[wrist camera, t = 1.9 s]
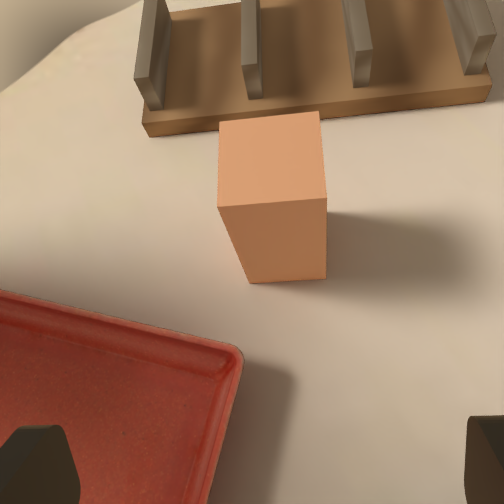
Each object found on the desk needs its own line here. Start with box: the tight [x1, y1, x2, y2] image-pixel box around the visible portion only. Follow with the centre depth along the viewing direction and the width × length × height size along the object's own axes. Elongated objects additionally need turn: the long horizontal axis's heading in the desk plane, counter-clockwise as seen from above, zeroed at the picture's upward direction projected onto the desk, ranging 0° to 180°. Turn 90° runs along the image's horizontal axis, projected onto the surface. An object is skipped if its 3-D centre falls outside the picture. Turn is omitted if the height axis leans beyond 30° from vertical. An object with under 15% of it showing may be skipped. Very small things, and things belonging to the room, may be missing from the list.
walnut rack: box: [134, 0, 496, 137], centre depth 31 cm, size 23×11×4 cm, turn 91°
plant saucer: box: [0, 289, 244, 504], centre depth 22 cm, size 18×18×3 cm
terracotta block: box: [217, 111, 327, 283], centre depth 23 cm, size 4×4×9 cm
